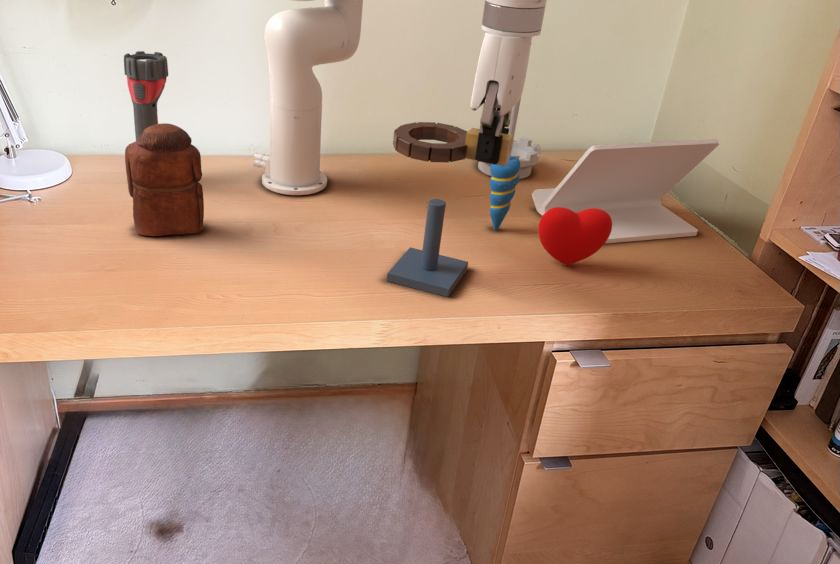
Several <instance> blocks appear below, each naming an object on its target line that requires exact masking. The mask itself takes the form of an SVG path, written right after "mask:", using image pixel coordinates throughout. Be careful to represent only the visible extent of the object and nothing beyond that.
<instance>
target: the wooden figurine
mask: <svg viewBox="0 0 840 564" xmlns="http://www.w3.org/2000/svg"><path fill="white" fill-rule="evenodd" d="M192 141H193V140H192V137H191V136H190V135H189V133H188V132H187V131H186V130H184V129H183V128H182V127H180V126H178V125H175V124H172V123H168V122H167V123H158V124H155V125H152V126H150V127H148V128H146V129H145V130H144V131H143V132H142V133H141V134H140V135H139V136H138V138H137V140H136V139H135V141H133V142H131V143H129V144H128V145H126V147H125V150H124V162H125V172H126V181H127V189H128V193H129V196H130V197H131V198H132V218H133V223H134V229H135V233H136V234H138V235H141V236H149V237H164V236H173V235H187V234H188V235H191V234H199V233H201V232H202V231H203V227H204V218H205V216H204V215H205V201H204V189H203V184H201V183H200V181H201V180H202V177H203V171H202V157H201V152H200V150H199V149H198V147H196V146H195V145H194V144H192Z"/></svg>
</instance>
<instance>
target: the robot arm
mask: <svg viewBox="0 0 840 564" xmlns="http://www.w3.org/2000/svg"><path fill="white" fill-rule="evenodd" d="M290 1H291V2H310V1H314V0H290ZM547 1H548V0H484V4H483V6H484V7H483V11H482V18H481V19H482V20H481V27H480V28H481V30H482V31H484V32H485V33H484V36H483V40H482V44H481V48H480V52H479V55H478V56H479V57H478V61H477V66H476V71H475V76H474V80H473V81H474V82H473V87H472V93H471V98H470V104H469V106H470V109H471V111H474V112H475V111H477V110H478V109H479V108H480V107H481V106H482V112H481V116H480V121H479V123H480V124H479V128H478V129H479V135H478V142H477V149H476V155H475V160H474V161H475V162H479V161H480V162H485V163H490V164H497V163H498V161H499V156H500V150H501V144H502V138H503V135H501V133H503V134H508V133H509V128H508V127H509V125H510V120H511V113H512V108H513V107H514V106H515V105H516V104H517V103H518V101H519V100H520V98H521V99H522V96H523V91H524V88H525V83H526V77H527V72H528V67H529V59H530V54H531V47H532V41H533V40H532V39H533V38H534V37H537V36H540V35H541V33H542V28H543V21H544V16H545V12H546V11H545V10H546V6H547ZM363 6H364V0H324V6H314V7H313V6H311V7H310V6H309V7H299V8H289V9H286V10H285V9H284V10H282V11H279V12H276V13H275V14H273V16H270V18H269V20H268V21H267V23H266V25H265V28H264V32H263V33H264V34H263V37H264V46H265V52H266V58H267V64H268V72H269V120H270V121H269V123H270V124H269V155H266V154H263V153H259V152H255V154H254V156H253V161H252V162H253V163H252V164H253V167H255V168H259V169H260V168H261V169H263V170H264V172H263V174H261V175H262V176H261V183H262V186H263V187H264V188H266V189H267V190H269V191H270V192H273V193H276V194H281V195H287V196H308V195H313V194H317V193H319V192H321V191H323V190H324V189H325V188H326V187H327V185H328V177H327V176H326V174H324V173H323V171H321V170H320V168H321V144H322V118H323V115H322V114H323V90H322V86H321V83H320V82H319V80H318V78H317V76H316V75H315V73H314V70H313V67H315V66H320V65H327V64H333V63H338V62H345V61H347V60H349V59H350V58H352V57H353V56H354V55H355V53H356V52H357V51H358V48H359V45H360V39H361V32H362V19H363Z"/></svg>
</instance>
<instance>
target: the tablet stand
mask: <svg viewBox="0 0 840 564" xmlns="http://www.w3.org/2000/svg"><path fill="white" fill-rule="evenodd" d="M719 145H720V144H719V141H718V139H717V138H712V139H711V138H710V139H690V140H672V141H671V140H670V141H653V142H651V141H650V142H631V143H611V144H594V145H592V146H589V147H588V148H587V150H586V151H585V152H584V153H583V154H582V156H581V157H580V158H579V159H578V160H577V162H576V163H575V164H574V165H573V166H572V168H571V169H570V170H569V172H568V173H567V174H566V175H565V176H564V178H563V179H562V180H561V181H560V182H559V184H558V185H557V186H556V187H555V188H554V187H553V188H551V187H550V188H539V189H538V188H537V189H534V191H533V192H532V193H531V197H532V201H533V203H534V206H535V210H536V212H537V213H538V214H540V215H541V217H542V216H543V214H544V213H545V212H546V211H548V210H549V209H552V208H555V207H563V208H567V209H570V210H572V211H573V212H575V213H578V212H580V211H583V210H586V209H591V208H597V209H601V210H604V211H605V212H607V213H608V214H609V216H610V217H611V220H612V230H611V233H610V236H609V238H608V239H607V241H606V242H605V244H615V243H626V242H627V243H628V242H640V241H650V240H652V241H653V240H663V239H672V238H674V239H675V238H684V237H685V238H686V237H695V236H697V234H698V232H699V230H698V229H697V228H696V227H695V226H693V225H691V224H690V223H688V222H687V221H685V220H684V219H683V218H681V217H680V216H679V215H677V214H675V213H674V212H672V211H671V210H670V209H668V208H667V207H665V206H664V205H662V199H663V198H664V197H665V196H666V195H667V194H668V193H669V192H670V191H671V190H672V189H673V188H675V186H677V185H678V183H680V182H681V181H682V180H683V179H684V178H685V177H686V176H687V175H689V173H691V172H692V171H693V170H694V169H695V168H696V167H697V166H698V165H699V164H700V163H701V162H702V161H703V160H705V159H706V158H707V157H708V156H709V155H710V154H711V153H712V152H713V151H714V150H715V149H716V148H717V147H718V146H719Z"/></svg>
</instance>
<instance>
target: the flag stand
mask: <svg viewBox="0 0 840 564" xmlns="http://www.w3.org/2000/svg"><path fill="white" fill-rule="evenodd" d="M521 100H522V97H521V98H520V100H519V101H518V103H517V104H516V105H515V106H514V107H513V108H512V113H511V120H510V125H509V127H507V128H509V133H508V135H513V136H514V137H513V143H512V149H511V154H510V155H511V156H514V157H516V158H518V159H519V161H520V169H519V171H518V172H519V175H520V178H519V180H521V179H525V178H528V177H529V176H530V175H531V174H532V169H533V166H534V165H536V164H537V163H538V162H539V160H540V155H541V149H542V148H541V145H540V144H536V143H535V144H533V145H532V142H533V140H532V139H530V138H528V137H524V136H521V137H519V139H518V140H519V141H518V140H514V139H515V133H516V129H517V124H518V123H517V122H518V118H519V113H520V112H519V111H520V106H521ZM490 167H491V164H490V163H485V162H480V161H478V165H477V168H478V170H479V171H480V172H481V173H483V174H485V175H487V176H489V177H492V176H491V171H490Z"/></svg>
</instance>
